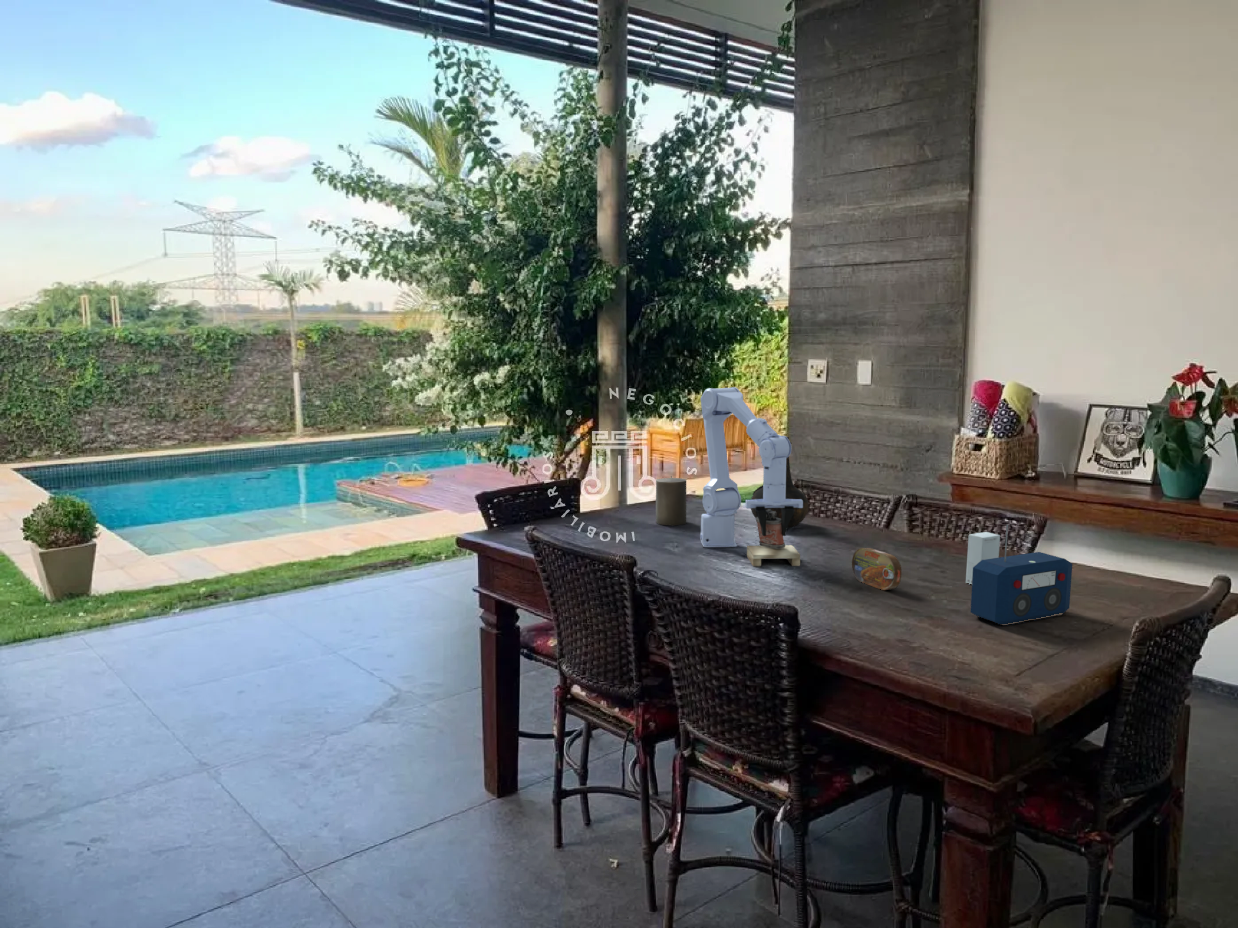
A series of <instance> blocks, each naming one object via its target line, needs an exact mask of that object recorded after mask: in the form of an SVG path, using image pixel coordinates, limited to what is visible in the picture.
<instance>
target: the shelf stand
mask: <svg viewBox="0 0 1238 928" xmlns="http://www.w3.org/2000/svg"><path fill="white" fill-rule="evenodd" d="M746 557H747V559H748V560H749V562H750V564H751V565H752V567H761V566H762V560H764V559H765V560H766V559H769V560H770V559H777V560H778V559H786V560H787V562H788V563H789V564H790V565H791V567H800V566H801V554H800V553H799V551H798V550H797V549H796V547H794V545H791V544H789V545H788V544H785V547H784V548H781V549H775V548H768V547H763V546H760V545H746Z"/></svg>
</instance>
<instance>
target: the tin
mask: <svg viewBox="0 0 1238 928" xmlns="http://www.w3.org/2000/svg"><path fill="white" fill-rule="evenodd" d="M851 569H852V573H853V575H854V577H855V578H856V580H857V581H858V582H859V583H861V582H862V584H864V583H865V584H864V585H868V586H870V587H872V588H876V589H877V590H880V589H881V591H887V590H889V591H890V590H894V589H895V588H898V586H899V585H900V583H901V579H902V575H903V574H902V565H901V563H900V561H899V559H898V558H897V557H896V556H895V555H893V554H890V553H888V552H885V551H882V550H878V549H874V548H870V547H866V548H865V547H860V548H858V549H856V550H855V551H854V553H853V555H852V560H851Z"/></svg>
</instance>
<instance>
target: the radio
mask: <svg viewBox="0 0 1238 928" xmlns="http://www.w3.org/2000/svg"><path fill="white" fill-rule="evenodd" d="M1005 529H1006V532H1005V545H1004V547H1005V549H1004V556H1001V557H999V558H992V559H985V560H981V561H980V562H979V563H978V564H977V565H975V566H974V567H973V576H972V585H971V598H970V613H971V614H973V615H974V616H976V617H978V616H979V617H978V618H980V617H981V618H980V619H982V618H984V619H983V620H985V619H987V620H986V621H988V620H990V621H993V622H995V623H994V624H996V623H998V624H997V625H999V624H1008V623H1013V622H1019V621H1024V620H1028V619H1036V618H1041V617H1046V616H1051V615H1054V614H1059V613H1063V614H1065V612H1067V611H1068V610H1069V609H1070V606H1071V605H1070V603H1071V591H1072V590H1071V589H1072V577H1073V576H1072V575H1073V562H1071V561H1069V560H1067V559H1066V558H1063V557H1060V556H1057V555H1052V554H1049V553H1044V552H1041V551H1036V552H1029V553H1020V554H1014V555H1009V556H1008V555H1007V549H1008V548H1007V547H1008V532H1009V524H1006V527H1005ZM990 621H989V622H990ZM993 622H992V623H993Z"/></svg>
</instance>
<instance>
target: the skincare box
mask: <svg viewBox="0 0 1238 928" xmlns="http://www.w3.org/2000/svg"><path fill="white" fill-rule="evenodd" d="M967 540H968V542H967V556H966V573H965V584H966V583H969V584H968V585H970V584H972V576H973V567H974V566H975V565H977V564H978V563H979V562H980V561H981V560H985V559H992V558H999V556H1000V543H1001V535H1000V534H997V533H996V534H995V533H993V532H989V531H984V532H983V531H982V532H976V533H970V534H968V539H967Z"/></svg>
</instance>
